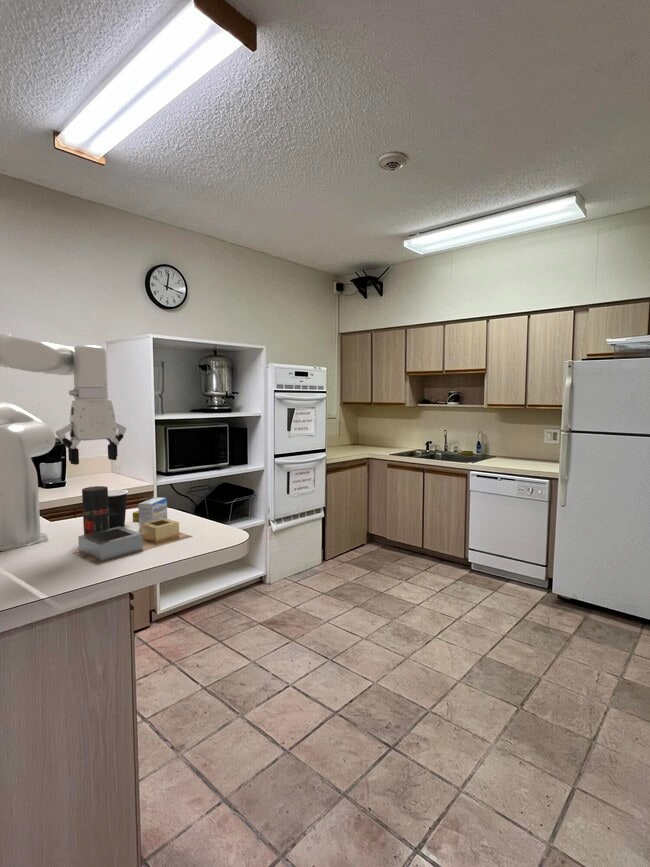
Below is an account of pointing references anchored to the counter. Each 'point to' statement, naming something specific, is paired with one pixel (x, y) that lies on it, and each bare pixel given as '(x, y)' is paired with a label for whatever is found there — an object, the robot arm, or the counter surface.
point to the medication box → (136, 516)
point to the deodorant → (95, 509)
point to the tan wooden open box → (160, 530)
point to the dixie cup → (117, 507)
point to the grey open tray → (110, 543)
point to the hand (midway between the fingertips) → (94, 461)
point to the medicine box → (152, 510)
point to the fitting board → (146, 546)
